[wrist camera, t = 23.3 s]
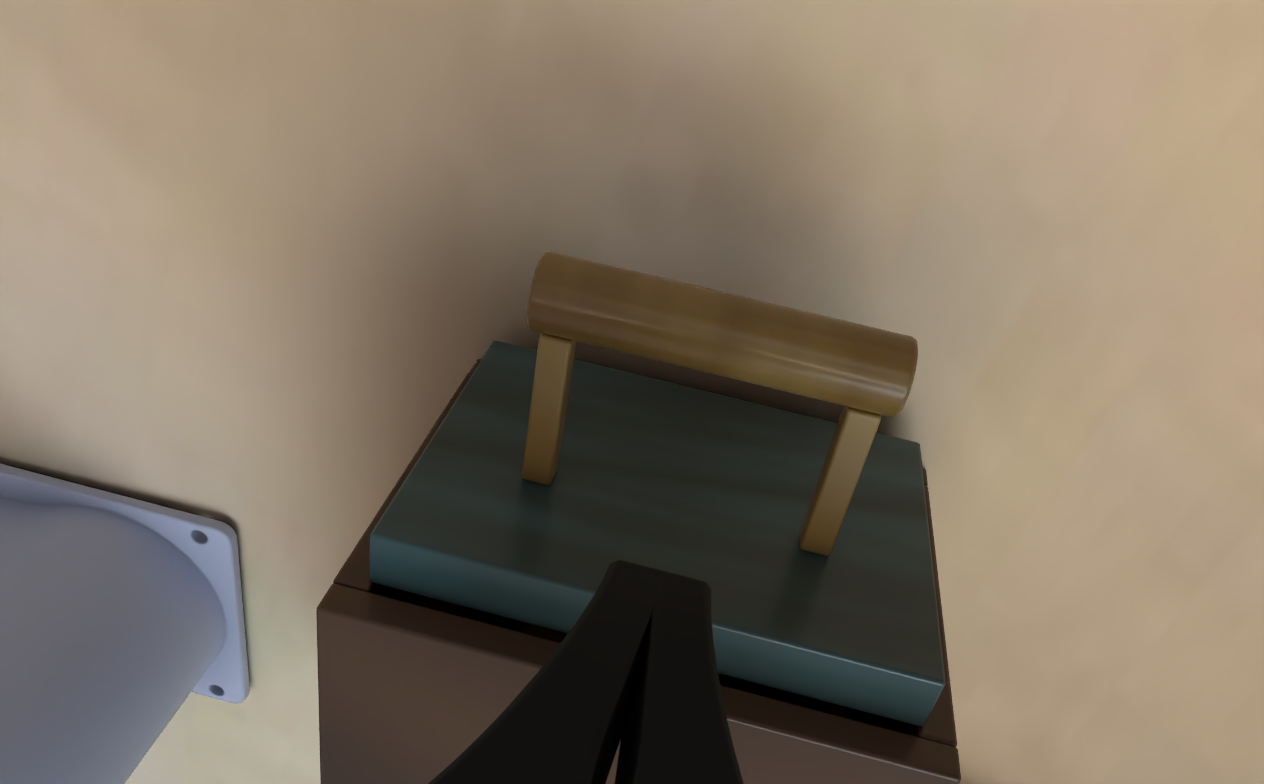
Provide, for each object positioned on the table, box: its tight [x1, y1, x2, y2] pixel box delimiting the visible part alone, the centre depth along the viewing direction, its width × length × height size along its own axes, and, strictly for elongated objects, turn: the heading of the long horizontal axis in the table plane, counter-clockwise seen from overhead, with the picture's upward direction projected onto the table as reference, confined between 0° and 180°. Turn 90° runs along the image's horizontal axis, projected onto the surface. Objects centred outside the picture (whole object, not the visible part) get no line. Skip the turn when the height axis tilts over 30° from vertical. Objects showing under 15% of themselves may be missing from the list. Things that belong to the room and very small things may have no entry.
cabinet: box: [317, 359, 961, 784], centre depth 24 cm, size 13×11×9 cm
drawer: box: [369, 252, 946, 726], centre depth 22 cm, size 17×10×7 cm, turn 171°
